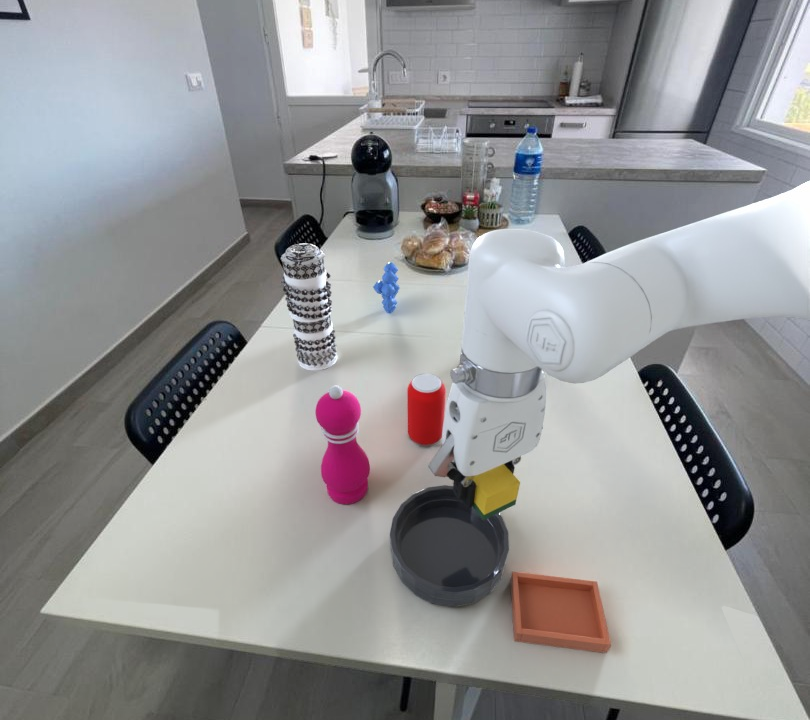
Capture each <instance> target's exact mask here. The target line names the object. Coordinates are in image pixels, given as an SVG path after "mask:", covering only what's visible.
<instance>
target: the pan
mask: <svg viewBox="0 0 810 720" xmlns="http://www.w3.org/2000/svg"><path fill="white" fill-rule="evenodd" d="M389 531H390V532H389V544H390V545H389V547H390V548H389V549H390V555H391V561H392V562H391V563H392V566H393V568H394V570H395V572H396V574H397V576H398V578H399V579H400V582H401V583H402V584H403V585H405V586H406V588H407V589H408V590H410V591H411V592H412V594H413V595H415V596H416V597H418V598H421V599H422V600H424V601H426V602H428V603H430V604H432V605H437V606H445V607H452V608H453V607H454V608H455V607H460V606H461V607H462V606H467V605H472V604H475V603H476V602H478V601H480V600H482V599H483V598H485V597H486V596H488V595H490V594H491V593H492V591H493V590H494V589H495V588H496V586H497V585H498V584H499V583H500V581H501V580H502V577H503V575H504V571H505V568H506V565H507V561H508V557H509V553H510V540H509V538H510V537H509V536H510V535H509V531H508V528H507V526H506V523H505V521H504V518H503V516H502V514H500V512H499V513H497V514H495V515H493V516H491V517H489V518H487V519H485V520H483V519H482V518H481V517H480V515H479V514H478V513H477V511H476V510H475V509H474V508H473V506H472V507H470V508H467V506H466V505H465V504H464V502H463V501H462V500H458V499H457V497H456V496H455V494H454V492H453V485H446V484H444V485H437V486H429V487H425V488H423V489H422V490H419V491H417V492H415V493H412V494H411V495H410V496H408V498H406V499H405V500H404V502H402V503H401V504H400V505H399V507H398V508H397V510H396V512H395V514H394V516H393V517H392V521H391V527H390V530H389Z"/></svg>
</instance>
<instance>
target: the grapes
mask: <svg viewBox="0 0 810 720" xmlns="http://www.w3.org/2000/svg"><path fill="white" fill-rule="evenodd" d="M382 270H384V273H383V275H382V276H381V279H382V280H378V281H376V282H375V283H374V285H373V286H372V287H373V289H374V291H375V293H377V294H379V295H381V298H382V299H383V300H382V301H381V304H382V309H383V310H384V311H385V312H386V314H389V315H391V314H392V313H393V312H394V311H395V310H396V309H397V304H398V301H397V300H396V296H397V294H398V293H399V290H400V289H401V287H400V285H399V284H398V283H397V282H398V281H399V277H398V275H397V273H398V271H399V269H398V267H397V265H396V264H395V263H394V262H392V261H389V262H387V263H386V264H385V266H384V267H383V269H382Z"/></svg>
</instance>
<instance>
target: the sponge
mask: <svg viewBox="0 0 810 720" xmlns="http://www.w3.org/2000/svg"><path fill="white" fill-rule="evenodd" d="M473 481H474V482H475V483H476V489H475V496H474V504H473V508H474V509H475V510H476V511H477V513H478V514H479V515H480V517H481V518H482V519H483V520H485V519H487V518H489V517H491V516H493V515H495V514H497V513H499V514H500V513H501V512H503V511H505V510H507V509H510V508H512V507H514V506H516V504H517V499H518V494H519V491H520V490H519V489H520V485H521V481H520V480H519V479H518V478H517V477H516V475H515V474H514V473H512V472H511V471H510V470H509V469H508V468H507V467H506V466H505V465H504V464H502V465H500V466H498V467H495V468H493V469H491V470H489V471H486V472H484V473H481V474H479V475H475V476H474V478H473ZM452 482H454V480H452Z"/></svg>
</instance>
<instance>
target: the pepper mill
mask: <svg viewBox="0 0 810 720" xmlns="http://www.w3.org/2000/svg"><path fill="white" fill-rule="evenodd" d="M314 413H315V418H316V422H317V423H318V425H319V426H320V428H321V433H322V436H323V438H324V440H325V441H327V447H326V449H325V451H324V452H325V453H324V454H323V457H322V460H321V464H320V476H321V478H322V481H323V483H324V484H325V486H326V490H327V494H328V496H329V498H330V499H331V500H332V502H335V503H337V504H340V505H351V504H355V503H357V502H359V501H361V500H362V499H363V498H364V497H365V496H366V494H367V493H368V491H369V476H370V473H371V465H370V464H371V463H370V460H369V457H368V456H367V454H366V451H364V449H363V448H362V447H361V446H360V444H359V442H358V441H357V436H358V434H359V432H360V431H359V430H360V427H359V421H360V419H361V415H362V407H361V403H360V401H359V399H358V398H357V396H355V394H353V393H352V392H350V391H348V390H344V389H343V388H342V387H341V386H340V385H337V384H336V385H332V386H331V387H330V388H329V390H328V391H327V392H326V393H324V394H323V395H322V396H320V398H319V399H318V401H317V403H316V405H315V412H314Z"/></svg>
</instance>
